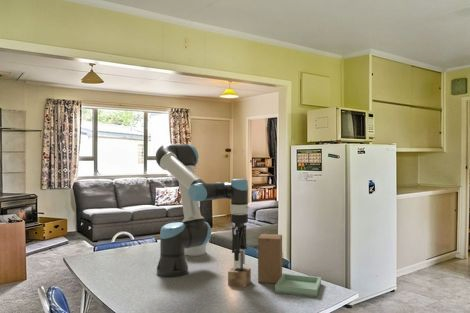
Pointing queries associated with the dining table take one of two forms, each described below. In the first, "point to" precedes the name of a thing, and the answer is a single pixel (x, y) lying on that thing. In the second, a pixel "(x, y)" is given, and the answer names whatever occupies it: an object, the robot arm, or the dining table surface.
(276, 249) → the wooden block
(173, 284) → the dining table surface
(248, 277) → the wooden socket block
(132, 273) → the dining table surface
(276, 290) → the tray
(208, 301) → the dining table surface
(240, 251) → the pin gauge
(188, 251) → the utensil holder
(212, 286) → the dining table surface
